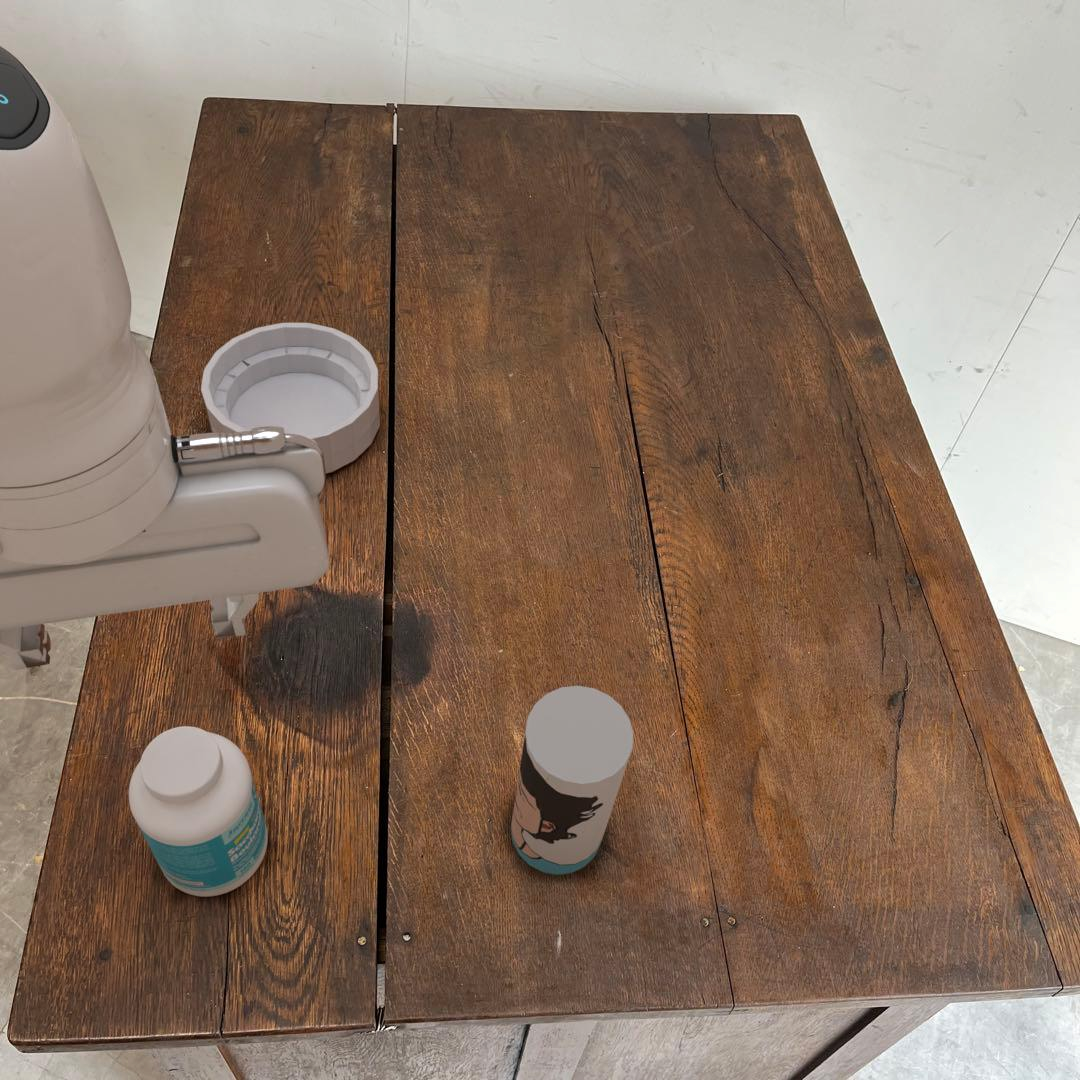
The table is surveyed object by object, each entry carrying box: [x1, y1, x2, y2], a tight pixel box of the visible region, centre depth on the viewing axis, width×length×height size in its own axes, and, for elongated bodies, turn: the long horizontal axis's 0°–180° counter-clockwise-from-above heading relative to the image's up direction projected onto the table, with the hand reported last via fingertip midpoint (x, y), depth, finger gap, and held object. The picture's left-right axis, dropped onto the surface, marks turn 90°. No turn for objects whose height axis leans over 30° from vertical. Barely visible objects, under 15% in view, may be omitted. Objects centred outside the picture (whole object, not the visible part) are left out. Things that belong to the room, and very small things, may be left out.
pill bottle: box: [128, 725, 269, 898], centre depth 67 cm, size 8×7×14 cm
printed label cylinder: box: [510, 685, 634, 876], centre depth 70 cm, size 7×7×15 cm
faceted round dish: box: [200, 322, 381, 474], centre depth 96 cm, size 16×16×6 cm
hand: (134, 640), depth 52 cm, fingers open, 8 cm apart
